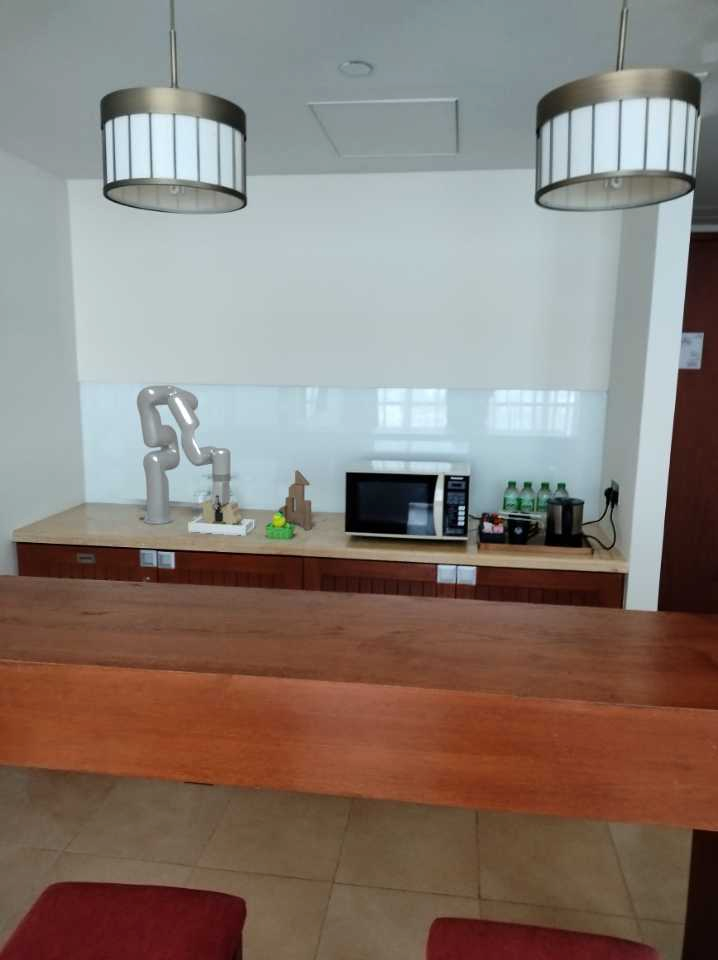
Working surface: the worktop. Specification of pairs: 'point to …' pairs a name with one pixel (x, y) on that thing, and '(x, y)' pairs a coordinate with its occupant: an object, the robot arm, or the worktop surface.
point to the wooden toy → (297, 503)
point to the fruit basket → (279, 528)
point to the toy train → (229, 513)
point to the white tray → (222, 527)
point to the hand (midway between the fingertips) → (221, 518)
